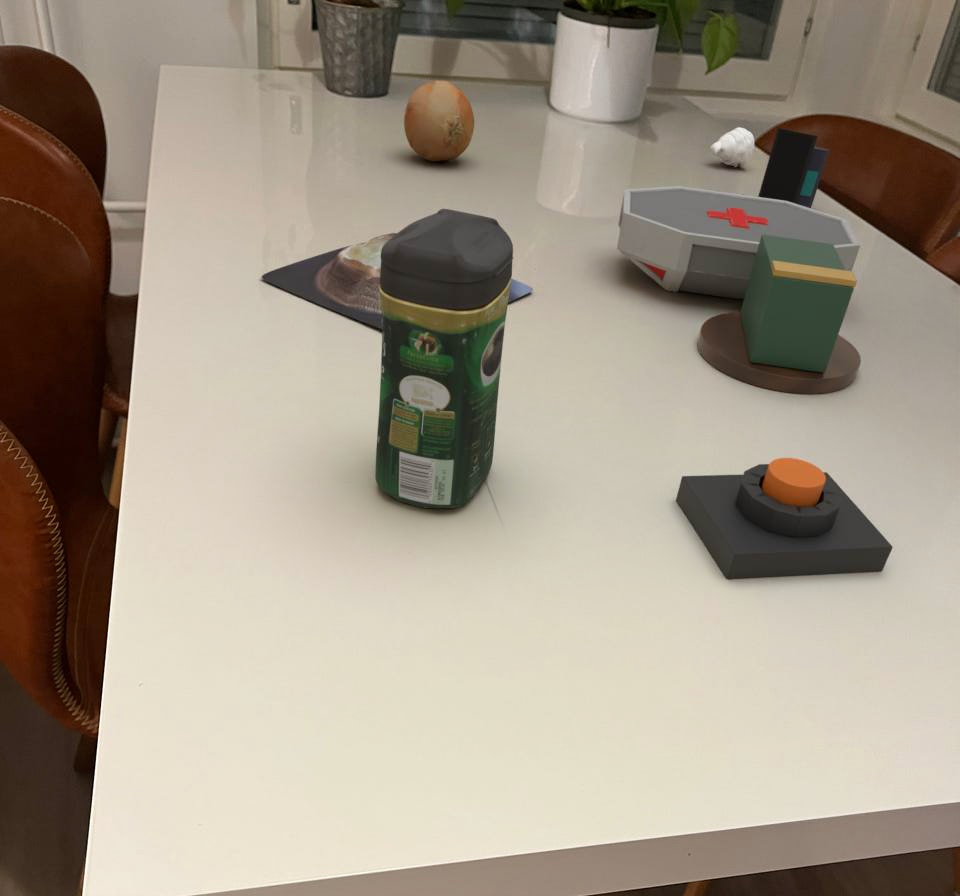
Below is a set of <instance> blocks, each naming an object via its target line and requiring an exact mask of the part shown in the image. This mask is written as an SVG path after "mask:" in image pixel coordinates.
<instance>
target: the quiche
mask: <svg viewBox="0 0 960 896" xmlns="http://www.w3.org/2000/svg"><path fill="white" fill-rule="evenodd" d="M397 233H398V232H391V233H386V234H381V235H379V236H375V237H373V238H371V239H369V240H368V241H366V242H362V243H357V244H352V245H348V246H344V247H340V248H337V249H334V250H333V249H332V250H331V251H327V252H324V253H321V254H318V255H315V256H311V257H308V258H305V259H302V260H299V261H296V262H293V263H291V264H287V265H284V266H281V267H279V268H275V269H273V270H270V271H267V272H266V273H263V274H262V276H261V279H262V280H264V281H265V282H267V283H269V284H272V285H274V286H276V287H278V288H280V289H282V290H284V291H287V292H289V293H292V294H294V295H296V296H299V297H301V298H302V299H305V300H308V301H311V302H312V303H314V304H318V305H320V306H322V307H324V308H327V309H329V310H332V311H334V312H337V313H339V314H342V315H345V316H347V317H349V318H352V319H354V320H357V321H359V322H361V323H365V324H367V325H370V326H372V327H375V328H377V329H380V330H382V311H381V302H380V294H379V285H380V269H381V250H382V247H383V245H384V244H385V243H386V242H388V241H389V240H390V239H391V238H392V237H393V236H394V235H395V234H397ZM533 290H534V288H533V287H532V286H530V285H528V284H526V283H523V282H521V281H518V280H516V279H514V278H511V285H510V292H509V299H508V304H509V303H511V302H513V301H515V300H517V299H519V298H521V297H523V296H526V295H527V294H529V293H531V292H533Z"/></svg>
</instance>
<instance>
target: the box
mask: <svg viewBox="0 0 960 896" xmlns="http://www.w3.org/2000/svg"><path fill="white" fill-rule="evenodd" d="M857 283H858V280H857V277H856V276H855V273H854V271H853V270H852V271H845V268H844V266H843V264H842V262H841V260H840V258H839V256H838V254H837V251H836V249H835V247H834V245H833V244H828V243H820V242H813V241H806V240H798V239H791V238H784V237H777V236H769V235H761V239H760V242H759V246H758V250H757V253H756V257H755V261H754V265H753V268H752V272H751V276H750V279H749V283H748V287H747V290H746V294H745V298H744V300H743V301H742V305H741V309H740V311H739V312H740V315H741V320H742V325H743V330H744V334H745V339H746V344H747V348H748V353H749V358H750V362H751V363H758V364H765V365H772V366H779V367H787V368H794V369H801V370H808V371H815V372H822V373H825V372H826V369H827V366H828V363H829V360H830V357H831V354H832V351H833V348H834V345H835V342H836V339H837V337H838V335H839V334H840V331H841V327H842V324H843V322H844V319H845V317H846V316H845V315H846V313H847V310H848V307H849V305H850V301H851V299H852V295H853V293H854V290H855V288H856V285H857Z"/></svg>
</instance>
